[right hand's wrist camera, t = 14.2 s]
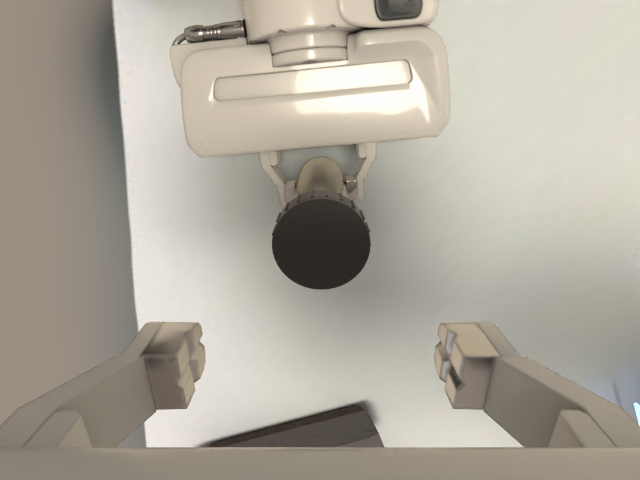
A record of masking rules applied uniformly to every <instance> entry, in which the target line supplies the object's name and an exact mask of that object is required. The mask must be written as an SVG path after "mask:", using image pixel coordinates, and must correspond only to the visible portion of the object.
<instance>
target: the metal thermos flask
mask: <svg viewBox="0 0 640 480" xmlns="http://www.w3.org/2000/svg"><path fill="white" fill-rule="evenodd" d="M312 189H313V190H326V189H328V191H333V192H337V193H342V195H344V196H345V197H347V198H348V199H350V198H349V195H348V191H347V188H346V185H345V182H344V178H343V175H342V172H341V169H340V167H339V166H338V165H337V164H336V163H335V162H334V161H333V160H331V159H329V158H326V157H316V158H313V159H311V160H309V161H308V162H307V163H306V164H305V165H304V166H303V168H302V170H301V173H300V176H299V179H298V183H297V186H296V189H295V192H294V196H293V199H294V198H296V197H297V196H298V194H300V195H301V194H303V193H306V192H309V191H311V190H312ZM293 199H292V200H293Z"/></svg>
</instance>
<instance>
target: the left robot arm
mask: <svg viewBox="0 0 640 480" xmlns="http://www.w3.org/2000/svg"><path fill="white" fill-rule="evenodd" d="M242 4H243V11H244V16H245V19H244V20H242V21H241V20H239V21H232V22H223V23H220V24H215V25H209V26H203V25H193V26H189V27H187V28H185V29H184V33H183V34H181V35H179V36H178V37H177V38H176V39H175V40H174V42H173V44H172V46H171V49H170V58H171V63H172V67H173V72H174V76H175V79H176V82H177V84H178V85H179V87H180V88H181V103H182V114H183V122H184V129H185V135H186V141H187V144H188V146H189V148H190V149H191V150H192V151H194V152H195V153H196V154H197V155H198V156H199V157H202V158H203V157H215V156H226V155H238V154H249V153H259V156H260V163H261V167H262V169H263V170H264V171H265V173H266V174H267V175H268V176H269V178H270V179H271V180H272V182H273V183H274V184H275V186H278V193H279V201H280V205H281V206H286V204H287V202H290V201H291V200H292V199H293V196H294V192H295V189H296V186H297V182H296V181H287V180H286V178H285V177H284V176H283V174H282V173H281V171H280V170H279V169H278V167H277V166H276V165H277V164H278V163H279V162H280V160H281V159H280V151H283V150H294V149H305V148H317V147H328V146H339V145H350V144H356V152H357V155H358V156H359V157H360V158H362V159H361V161H360V163H359V165H358V167H357V169H356V171H355V173H354V176H345V177H344V179H345V185H346V188H347V191H348V195H349V198H350V200H357V199H364V184H363V179H365V177H366V175H367V174H368V172H369V170H370V168H371V166H372V164H373V162H374V160H375V159H376V142H384V141H395V140H407V139H418V138H429V137H437V136H438V135H440V133H441V132H442V131H443V129H444V128H445V127H446V125H447V124H448V121H449V114H450V81H449V67H448V57H447V51H446V47H445V44H444V42H443V40H442V38H441V37H440V35H439V34H438V33H437V32H436V31H435V30H433V29H431V28H429V27H427V26H428V25H429V24H430V23H431V22H432V21H433V20H434V18H435V17H436V15H437V13H438V9H439V0H242ZM247 38H248V39H247ZM184 40H187V42H188V43H189V44H180V43H181V42H182V41H184ZM214 40H218V41H214ZM207 41H208V42H207Z"/></svg>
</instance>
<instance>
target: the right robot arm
mask: <svg viewBox="0 0 640 480" xmlns="http://www.w3.org/2000/svg"><path fill="white" fill-rule="evenodd" d="M201 336H202V329H201V325H200V324H199V323H194V322H149V323H146V324H145V325H144V326H143V328H142V329H141V330H140V331H139V333H138V334H137V335H136V336H135V338H134V339H133V340H132V341H131V343H130V344H129V345H128V346H127V348H126V349H125V350H124V351H123V353H122V354H121V355H120V356H119V357H113V358H111V359H109V360H107V361H106V362H104V363H102V364H100V365H98V366H96V367H94V368H92V369H90V370H89V371H87V372H85V373H83V374H81V375H79V376H77V377H75V378H74V379H72V380H70V381H68V382H66V383H64V384H62V385H60V386H59V387H57V388H55V389H53V390H51V391H49V392H47V393H45V394H44V395H42V396H40V397H38V398H36V399H34V400H32V401H30V402H29V403H27V404H25V405H23V406H21V407H19V408H18V409H17V410H16V411H15V412H14V413H13V414H12V415H11V416H10V417H9V418H8V419H7V420H6V421H5V422H4V423H3V424H2V425H1V426H0V480H640V405H638V404H637V403H634V406H635V410H636V414H637V418H638V422H639V424H638V423H637V422H636V421H635V420H634V419H633V418H632V417H631V416H630V415H629V414H628V413H627V412H626V411H625V410H624V409H622V408H621V407H619V406H617V405H615V404H613V403H611V402H609V401H607V400H606V399H604V398H602V397H600V396H598V395H596V394H594V393H593V392H591V391H589V390H587V389H585V388H583V387H581V386H579V385H578V384H576V383H574V382H572V381H570V380H568V379H566V378H564V377H563V376H561V375H559V374H557V373H555V372H553V371H551V370H550V369H548V368H546V367H544V366H542V365H540V364H538V363H536V362H535V361H533V360H531V359H529V358H527V357H521V356H520V355H519V354H518V353H517V351H516V350H515V349H514V348H513V346H512V345H511V344H510V343H509V341H508V340H507V339H506V338H505V337H504V335H503V334H502V333H501V332H500V330H499V329H498V328H497V327H496V325H495V324H494V323H492V322H474V323H440V325H439V328H438V336H439V338H440V340H441V341H440V342H439V343H438V344H437V345H436V347H435V366H436V370H437V373H438V375H439V378H440V379H441V380H443V381H444V382H445V383H446V386H445V391H446V394H447V396H448V398H449V400H450V403H451V405H452V407H453V409H479V410H484V412H485V413H486V414H488V415H489V416H490V417H491V418H492V419H493V420H494V421H495V422H497V423H498V424H499V425H500V426H501V427H502V428H503V429H504V430H506V431H507V432H508V433H509V434H510V435H511V436H512V437H513V438H515V439H516V440H517V441H518V442H519V443H520V444H521V445H522V446H524V447H525V448H378V447H187V448H133V447H131V448H130V447H128V448H127V447H117V446H118V445H119V444H120V443H121V442H122V441H123V440H124V439H126V438H127V437H128V436H129V435H130V434H131V433H132V432H133V431H135V430H136V429H137V428H138V427H139V426H140V425H141V424H142V423H144V422H145V421H146V420H147V419H148V418H149V417H150V416H152V415H153V414H154V413H155V412H156V410H161V409H187V407H188V405H189V403H190V400H191V398H192V396H193V394H194V391H195V386H194V383H195V382H196V381H197V380H199V379H200V378H201V375H202V373H203V370H204V365H205V347H204V345H203V344H202V343H201V342H200V341H199V340H200V338H201Z"/></svg>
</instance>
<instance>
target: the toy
mask: <svg viewBox="0 0 640 480" xmlns="http://www.w3.org/2000/svg"><path fill="white" fill-rule="evenodd" d="M209 447H378V448H384V446H383V443H382V441H381V438H380V436H379V433H378V431H377V429H376V427H375V426H374V424H373V422H372V420H371V418H370V416H369V415H368V413H367V411H366V410H363V409H362V408H360V407H359V406H350V407H346V408H343V409H339V410H335V411H331V412H328V413H324V414H320V415H316V416H313V417H309V418H305V419H301V420H298V421H294V422H290V423H287V424H283V425H279V426H275V427H272V428H268V429H264V430H260V431H257V432H253V433H249V434H245V435H242V436H238V437H234V438H230V439H227V440H223V441H219V442H215V443H212V444H211V445H210V446H209Z"/></svg>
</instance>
